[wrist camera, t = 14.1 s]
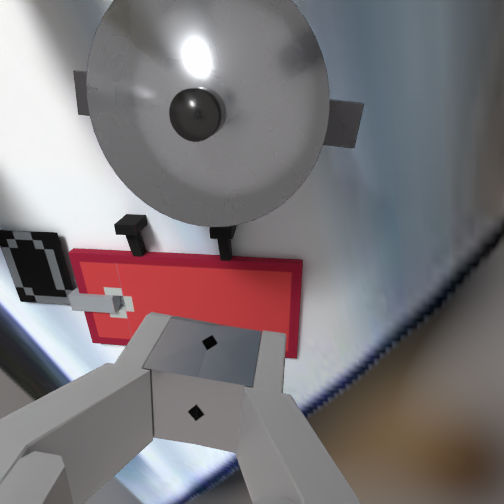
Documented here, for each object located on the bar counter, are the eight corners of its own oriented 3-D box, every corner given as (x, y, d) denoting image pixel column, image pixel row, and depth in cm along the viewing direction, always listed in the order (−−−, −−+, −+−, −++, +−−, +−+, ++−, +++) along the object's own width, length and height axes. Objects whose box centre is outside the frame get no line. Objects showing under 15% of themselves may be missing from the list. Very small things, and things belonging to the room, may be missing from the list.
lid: (83, -48, 17) (43, -71, 15) (353, -24, 16) (362, -44, 14) (106, 206, 23) (80, 222, 20) (306, 234, 22) (306, 256, 19)
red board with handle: (-5, 208, 35) (38, 330, 42) (-28, 219, 32) (21, 346, 39) (304, 219, 32) (296, 349, 38) (305, 231, 29) (296, 368, 36)
